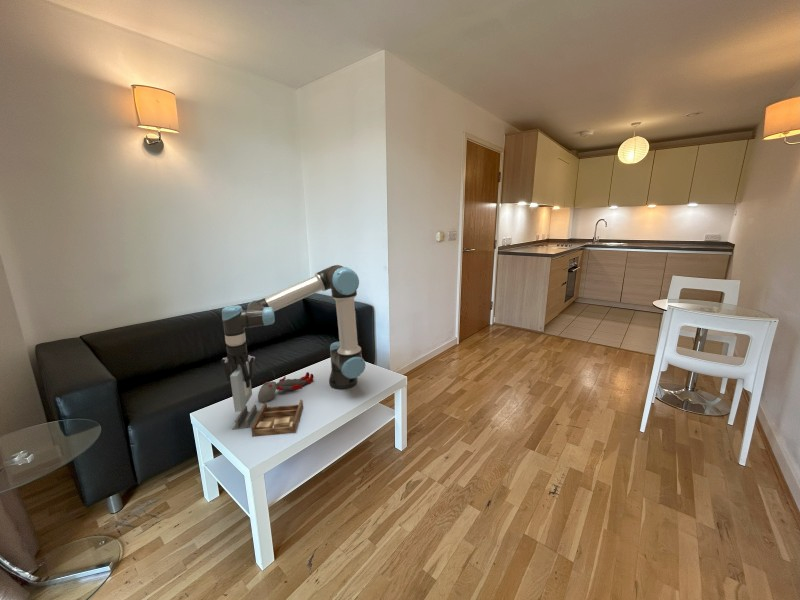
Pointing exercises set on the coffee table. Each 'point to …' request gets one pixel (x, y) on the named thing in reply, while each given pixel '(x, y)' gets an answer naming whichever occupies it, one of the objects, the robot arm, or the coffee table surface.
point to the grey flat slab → (239, 389)
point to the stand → (246, 418)
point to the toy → (282, 386)
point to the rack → (277, 413)
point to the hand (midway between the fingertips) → (243, 394)
